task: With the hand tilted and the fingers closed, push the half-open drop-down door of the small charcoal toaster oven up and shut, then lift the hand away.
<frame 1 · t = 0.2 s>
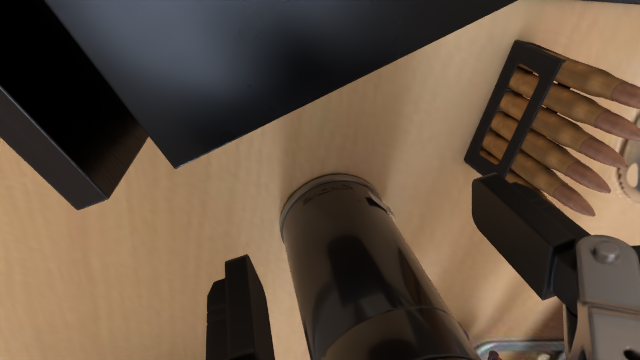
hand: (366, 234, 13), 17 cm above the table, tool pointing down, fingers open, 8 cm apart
figurine: (414, 353, 50), on the table
oven door: (1, 3, 17), point 6 cm above the table, hinge at 12.3°
ammunition clip: (494, 105, 33), on the table
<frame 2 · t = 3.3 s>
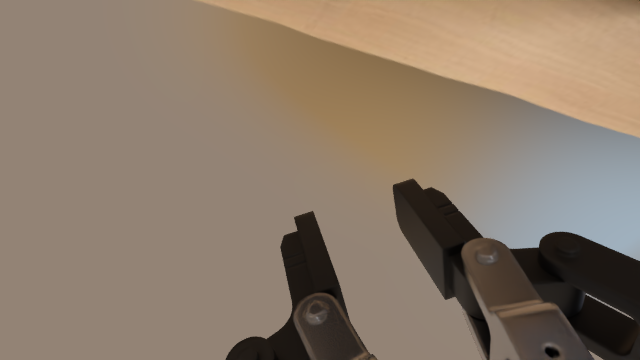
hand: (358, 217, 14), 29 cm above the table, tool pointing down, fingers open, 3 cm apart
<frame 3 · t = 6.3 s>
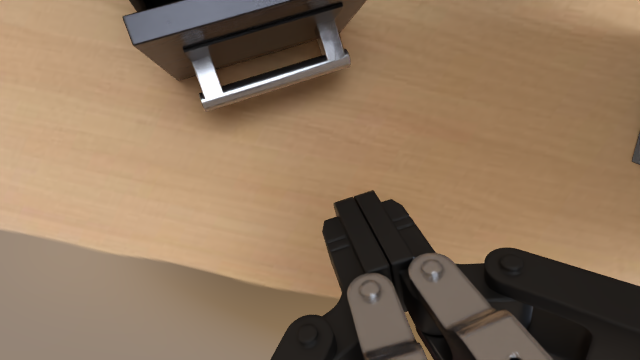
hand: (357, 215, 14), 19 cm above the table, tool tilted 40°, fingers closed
oven door: (268, 51, 28), point 6 cm above the table, hinge at 12.3°
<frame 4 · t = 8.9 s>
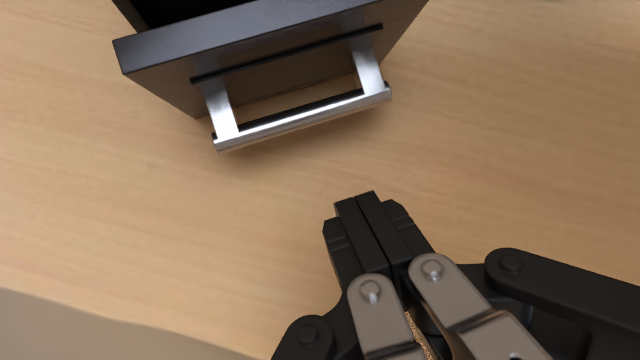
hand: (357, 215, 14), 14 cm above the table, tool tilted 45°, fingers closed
oven door: (293, 84, 24), point 6 cm above the table, hinge at 12.3°
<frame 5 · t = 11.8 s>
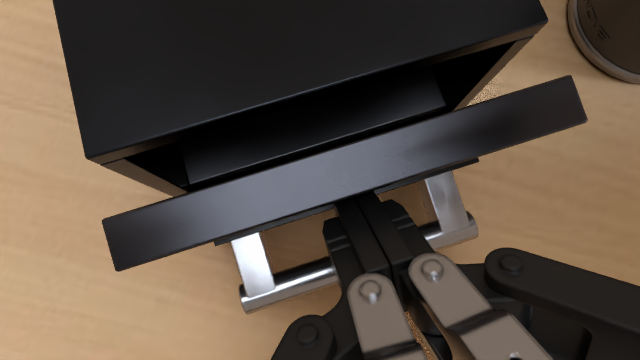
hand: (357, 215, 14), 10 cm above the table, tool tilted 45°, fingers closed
oven door: (348, 222, 18), point 6 cm above the table, hinge at 7.1°, touching gripper
oven: (281, 52, 26), on the table
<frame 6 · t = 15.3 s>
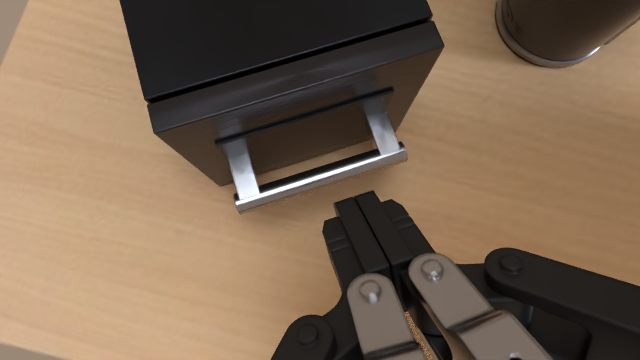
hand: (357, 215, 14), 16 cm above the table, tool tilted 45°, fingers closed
oven door: (312, 147, 25), point 7 cm above the table, hinge at -0.5°
oven: (271, 44, 34), on the table
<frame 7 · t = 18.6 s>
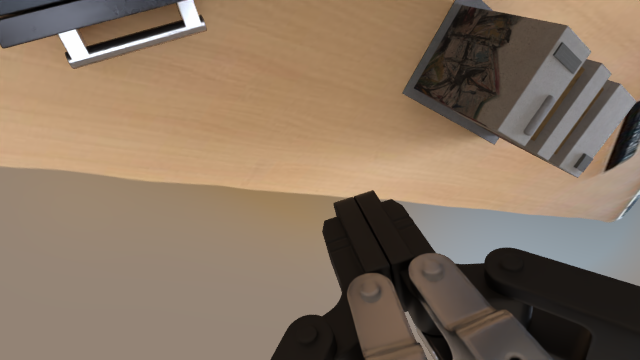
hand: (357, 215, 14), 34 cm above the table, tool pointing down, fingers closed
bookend: (481, 76, 60), on the table
oven door: (129, 18, 32), point 7 cm above the table, hinge at -0.5°
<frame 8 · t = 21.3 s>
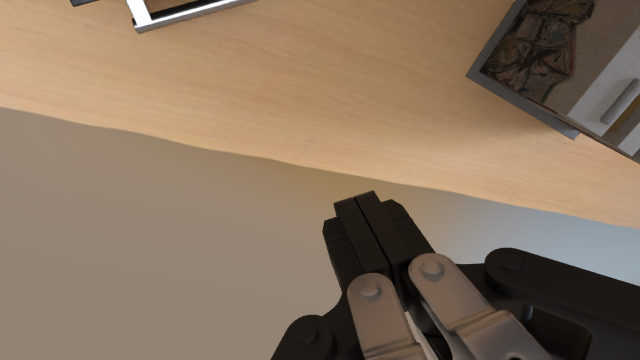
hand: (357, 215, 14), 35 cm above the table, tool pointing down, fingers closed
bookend: (560, 61, 54), on the table
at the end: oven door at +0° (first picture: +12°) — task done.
